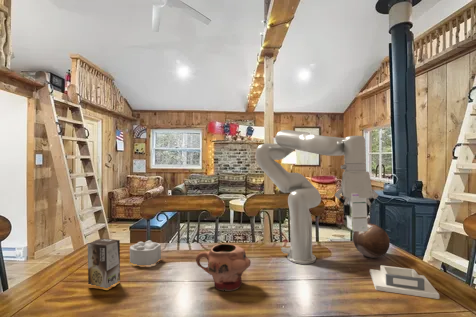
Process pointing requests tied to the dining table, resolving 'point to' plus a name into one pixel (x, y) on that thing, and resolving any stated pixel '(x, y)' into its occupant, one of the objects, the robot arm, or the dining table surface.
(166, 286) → the dining table surface
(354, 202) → the syrup box
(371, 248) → the wooden sphere
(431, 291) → the shelf bay
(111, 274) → the coffee box
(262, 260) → the dining table surface
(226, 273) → the sculpted clay mug
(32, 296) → the dining table surface
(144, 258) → the lumpy-topped squat cylinder
